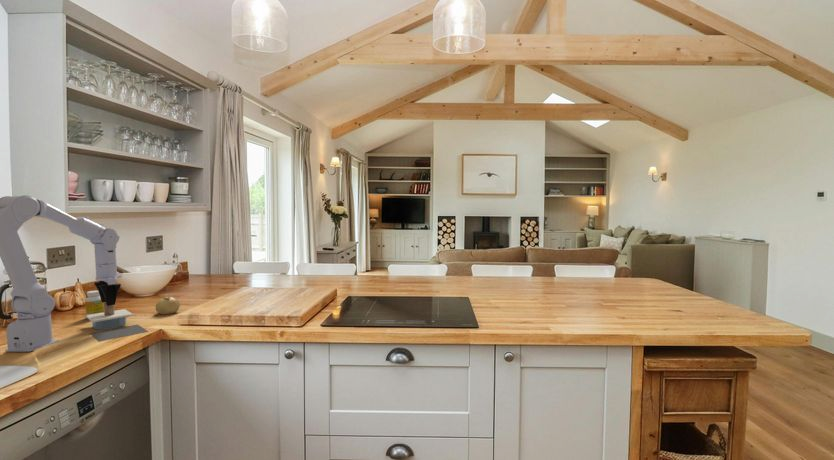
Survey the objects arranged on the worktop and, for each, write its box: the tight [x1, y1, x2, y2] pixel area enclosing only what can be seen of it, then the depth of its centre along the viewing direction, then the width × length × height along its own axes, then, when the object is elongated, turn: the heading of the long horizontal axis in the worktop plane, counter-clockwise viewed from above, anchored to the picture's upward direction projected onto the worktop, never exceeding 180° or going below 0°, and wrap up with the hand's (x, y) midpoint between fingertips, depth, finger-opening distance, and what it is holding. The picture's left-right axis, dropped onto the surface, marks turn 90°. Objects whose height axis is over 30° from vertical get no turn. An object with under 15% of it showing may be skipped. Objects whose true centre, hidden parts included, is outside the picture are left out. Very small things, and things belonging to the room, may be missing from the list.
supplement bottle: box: [84, 290, 105, 320], centre depth 156 cm, size 5×5×10 cm
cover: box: [85, 302, 134, 323], centre depth 143 cm, size 11×11×5 cm
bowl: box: [91, 317, 127, 330], centre depth 143 cm, size 9×9×4 cm
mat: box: [89, 324, 149, 343], centre depth 135 cm, size 13×13×1 cm
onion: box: [155, 296, 181, 316], centre depth 160 cm, size 8×8×7 cm
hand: (108, 303), depth 143 cm, fingers open, 7 cm apart
